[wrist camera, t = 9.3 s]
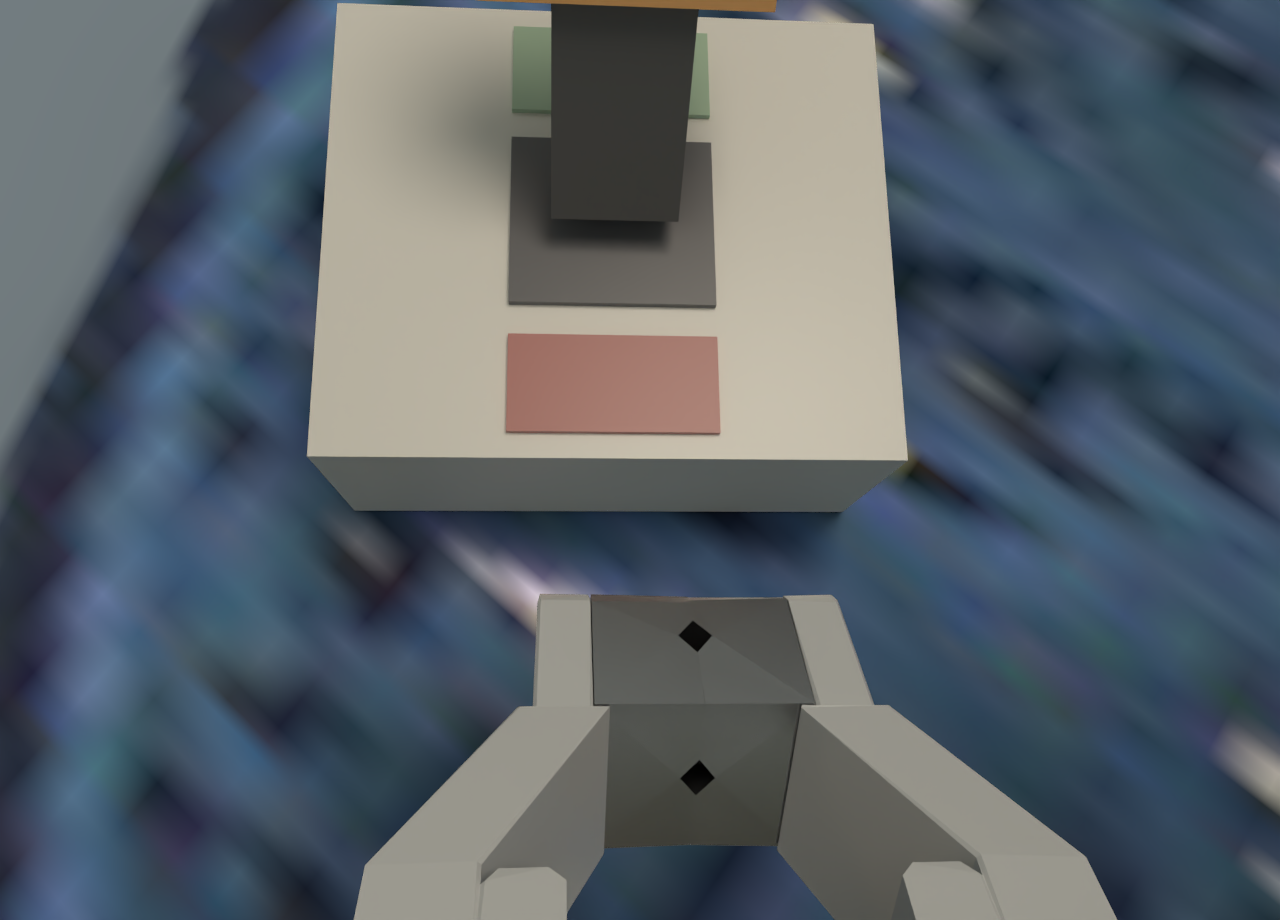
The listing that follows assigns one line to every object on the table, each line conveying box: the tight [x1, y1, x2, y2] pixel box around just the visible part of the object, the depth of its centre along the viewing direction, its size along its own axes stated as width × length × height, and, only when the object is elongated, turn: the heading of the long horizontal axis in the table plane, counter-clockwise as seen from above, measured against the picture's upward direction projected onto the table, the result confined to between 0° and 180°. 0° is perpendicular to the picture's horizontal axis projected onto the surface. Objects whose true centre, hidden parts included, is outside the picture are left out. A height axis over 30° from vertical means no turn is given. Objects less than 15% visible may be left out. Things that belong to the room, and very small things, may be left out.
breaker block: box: [307, 3, 908, 512], centre depth 29 cm, size 12×14×6 cm
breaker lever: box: [480, 0, 777, 222], centre depth 23 cm, size 2×6×9 cm
